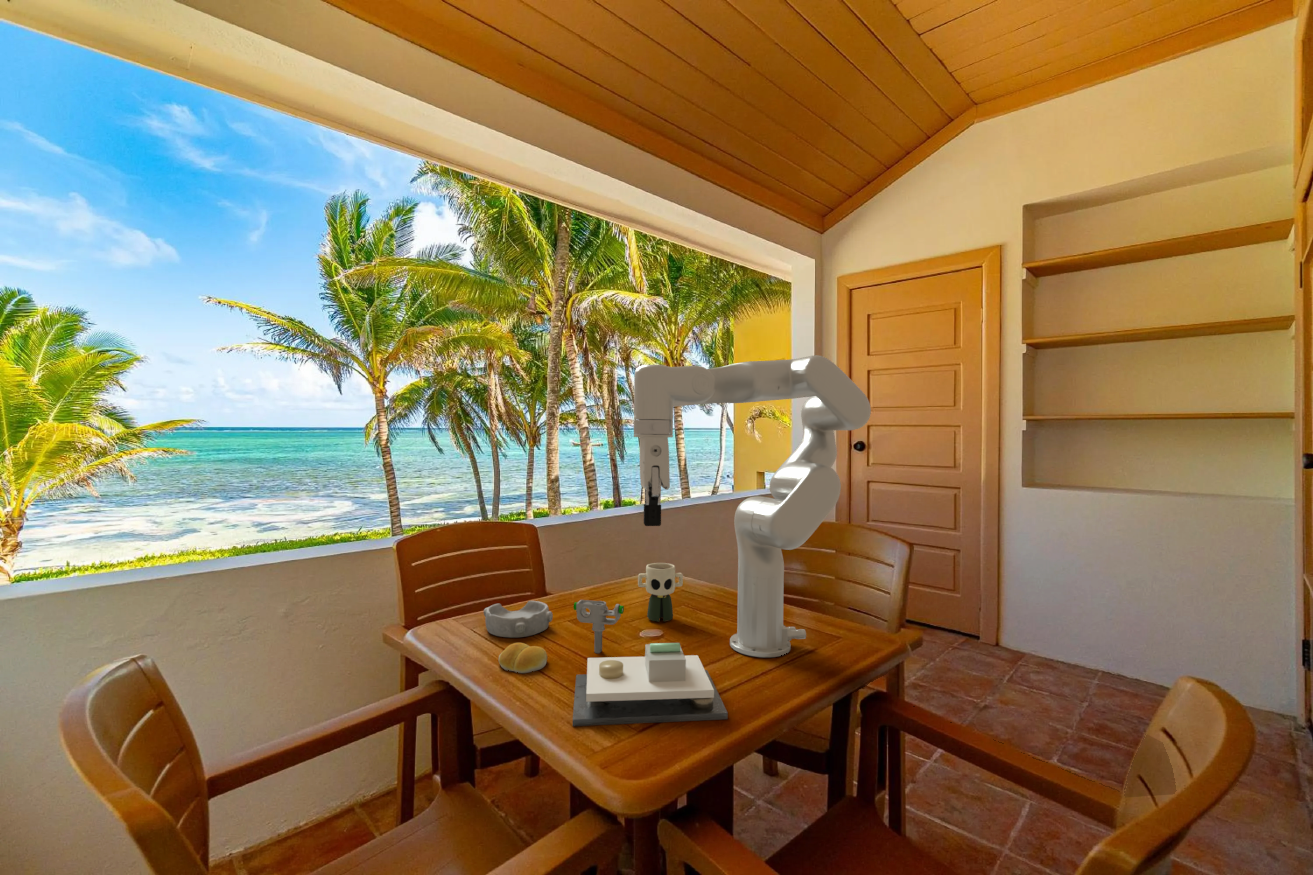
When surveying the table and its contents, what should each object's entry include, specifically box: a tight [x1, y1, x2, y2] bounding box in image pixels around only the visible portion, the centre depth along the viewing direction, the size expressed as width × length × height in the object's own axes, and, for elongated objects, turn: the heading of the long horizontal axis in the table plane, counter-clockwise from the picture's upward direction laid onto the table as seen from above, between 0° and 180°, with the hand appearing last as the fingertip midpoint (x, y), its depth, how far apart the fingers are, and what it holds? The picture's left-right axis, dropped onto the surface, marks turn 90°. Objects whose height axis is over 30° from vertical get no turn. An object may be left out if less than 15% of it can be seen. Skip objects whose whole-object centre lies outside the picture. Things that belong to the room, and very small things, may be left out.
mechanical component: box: [573, 599, 625, 654], centre depth 113 cm, size 3×10×10 cm, turn 78°
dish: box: [483, 600, 554, 638], centre depth 126 cm, size 14×14×5 cm
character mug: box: [637, 562, 684, 622], centre depth 134 cm, size 11×7×13 cm, turn 96°
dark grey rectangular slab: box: [572, 669, 729, 727], centre depth 93 cm, size 24×16×3 cm, turn 96°
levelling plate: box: [586, 642, 714, 702], centre depth 93 cm, size 20×14×6 cm
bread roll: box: [498, 642, 548, 674], centre depth 107 cm, size 8×9×4 cm
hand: (652, 525), depth 106 cm, fingers closed
